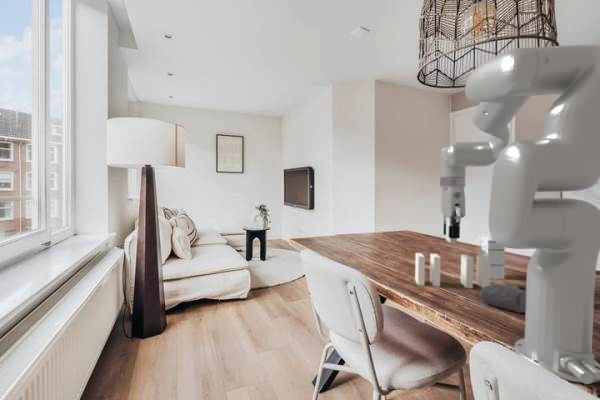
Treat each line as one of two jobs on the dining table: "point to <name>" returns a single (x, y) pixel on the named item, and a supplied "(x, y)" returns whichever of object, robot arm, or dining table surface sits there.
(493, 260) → the syrup box
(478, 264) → the domino
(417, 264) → the domino
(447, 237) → the domino
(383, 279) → the dining table surface
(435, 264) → the domino
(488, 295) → the perforated stone tool
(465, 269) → the domino
